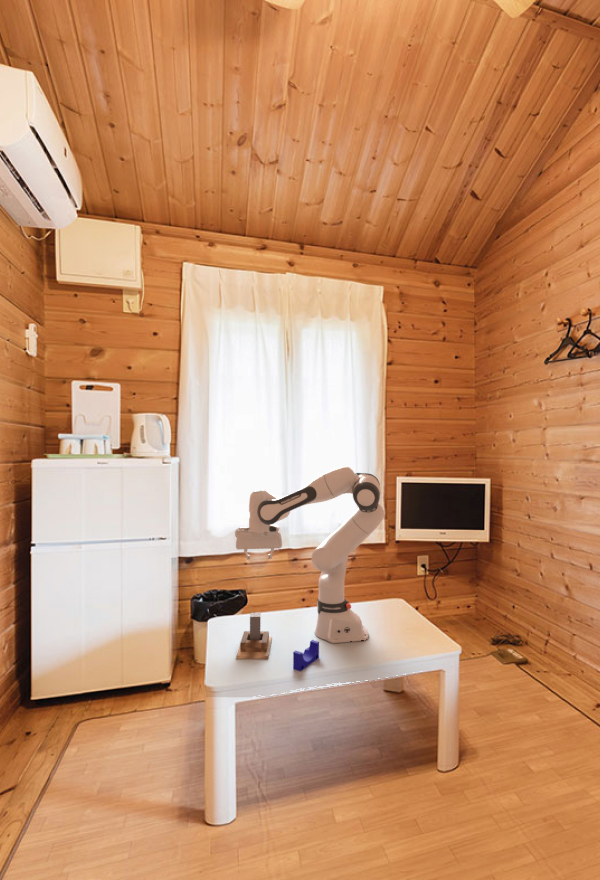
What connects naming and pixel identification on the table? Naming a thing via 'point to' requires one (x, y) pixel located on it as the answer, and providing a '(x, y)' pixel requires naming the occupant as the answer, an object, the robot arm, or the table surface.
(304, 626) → the table surface
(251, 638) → the peg
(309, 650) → the blue cradle bracket
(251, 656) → the socket board
